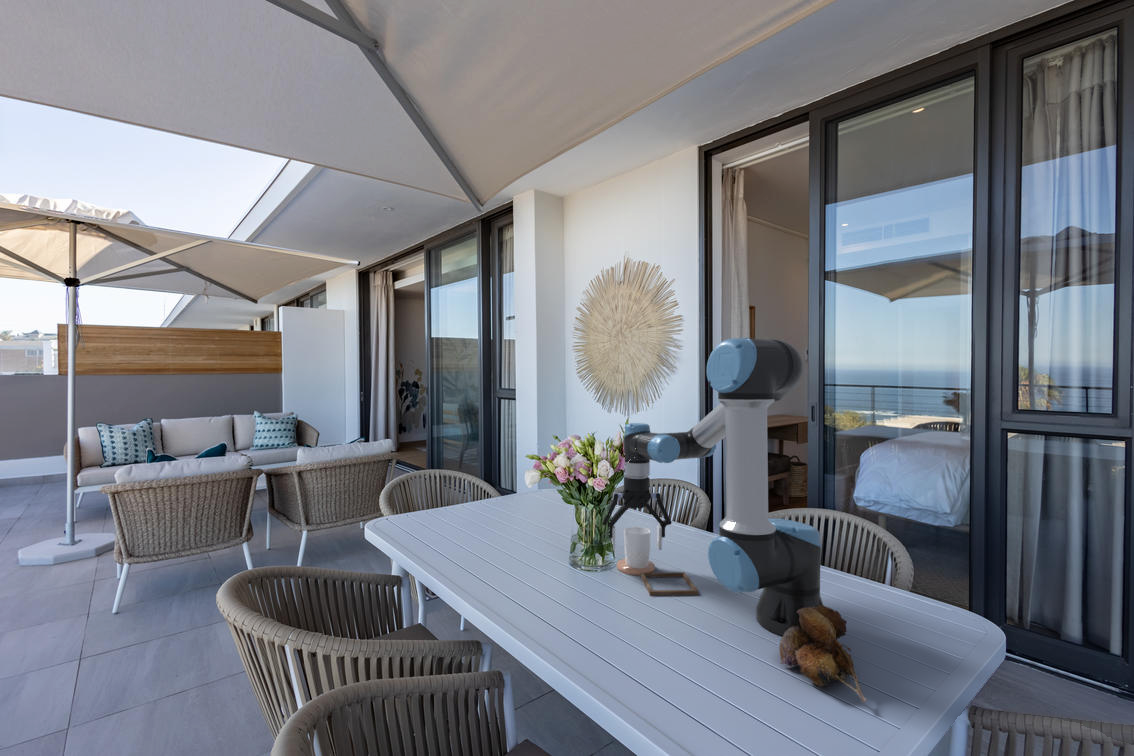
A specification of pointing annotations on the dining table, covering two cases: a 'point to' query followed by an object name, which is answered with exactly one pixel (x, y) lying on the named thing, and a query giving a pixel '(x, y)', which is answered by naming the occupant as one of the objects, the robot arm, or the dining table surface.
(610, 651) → the dining table surface
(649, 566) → the peach flat disc
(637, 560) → the white cup
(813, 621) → the seed pod
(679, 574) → the walnut tray frame
